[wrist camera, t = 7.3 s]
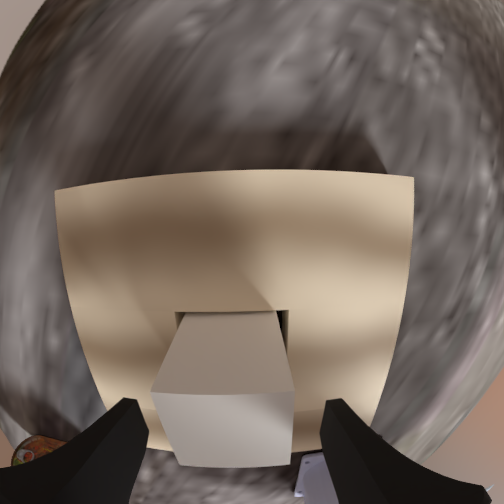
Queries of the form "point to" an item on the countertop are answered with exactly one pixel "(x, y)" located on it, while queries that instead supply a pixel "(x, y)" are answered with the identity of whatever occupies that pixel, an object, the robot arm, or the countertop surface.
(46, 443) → the tin
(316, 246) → the socket plate
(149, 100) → the countertop surface
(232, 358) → the keyed peg
